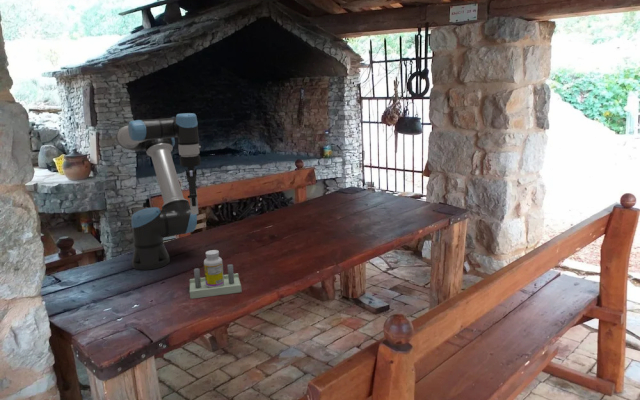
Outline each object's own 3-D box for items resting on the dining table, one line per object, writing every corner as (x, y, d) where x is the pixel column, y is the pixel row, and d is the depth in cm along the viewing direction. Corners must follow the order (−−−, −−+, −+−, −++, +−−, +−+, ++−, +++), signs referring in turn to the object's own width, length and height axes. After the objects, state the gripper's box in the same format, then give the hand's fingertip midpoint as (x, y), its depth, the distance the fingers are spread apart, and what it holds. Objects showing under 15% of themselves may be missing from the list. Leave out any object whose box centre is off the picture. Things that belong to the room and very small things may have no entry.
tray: (190, 298, 176) (188, 276, 174) (190, 285, 187) (188, 264, 185) (241, 292, 180) (239, 270, 178) (238, 279, 191) (236, 258, 189)
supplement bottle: (208, 281, 186) (205, 249, 183) (226, 281, 186) (223, 248, 183) (203, 288, 180) (200, 255, 177) (222, 288, 180) (219, 255, 177)
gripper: (200, 159, 177) (205, 217, 182) (199, 149, 200) (203, 201, 205) (178, 161, 175) (184, 219, 180) (180, 151, 198) (184, 202, 204)
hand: (194, 209), depth 193 cm, fingers open, 13 cm apart
